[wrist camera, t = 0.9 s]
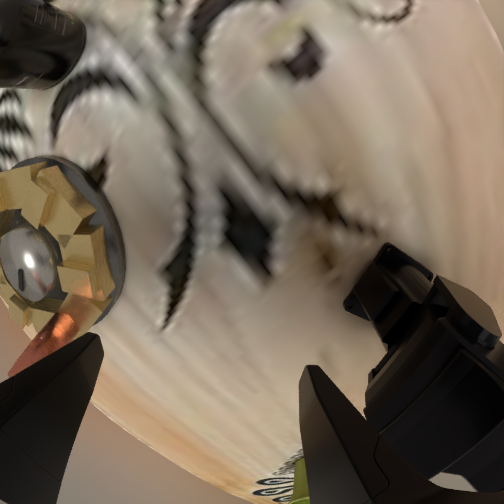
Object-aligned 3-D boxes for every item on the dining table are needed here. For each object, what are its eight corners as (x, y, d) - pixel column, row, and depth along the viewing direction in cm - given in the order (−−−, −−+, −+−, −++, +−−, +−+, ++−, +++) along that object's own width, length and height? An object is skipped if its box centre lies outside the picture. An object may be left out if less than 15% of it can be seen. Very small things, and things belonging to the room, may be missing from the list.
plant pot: (275, 467, 36) (277, 508, 28) (302, 448, 33) (308, 496, 25) (320, 469, 38) (325, 505, 30) (349, 449, 34) (359, 490, 26)
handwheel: (26, 127, 13) (-68, 145, 5) (147, 259, 18) (80, 354, 9) (-17, 249, 18) (-73, 292, 9) (73, 348, 22) (32, 416, 13)
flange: (123, 152, 16) (88, 159, 12) (134, 334, 23) (117, 369, 19) (-4, 161, 16) (-38, 171, 11) (19, 302, 22) (-3, 324, 18)
